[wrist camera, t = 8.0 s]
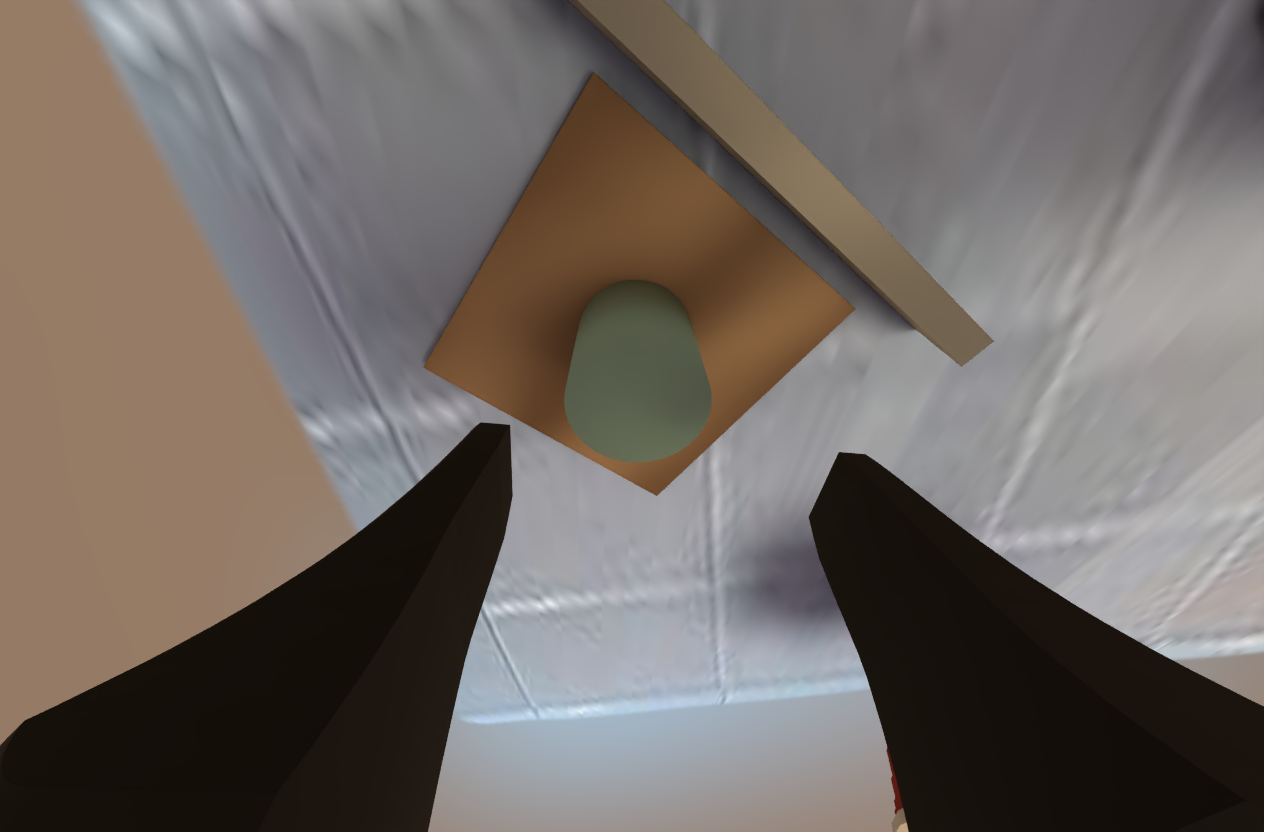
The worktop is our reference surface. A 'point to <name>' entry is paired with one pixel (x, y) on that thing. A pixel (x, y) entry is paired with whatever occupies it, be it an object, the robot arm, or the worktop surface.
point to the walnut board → (630, 250)
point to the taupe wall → (782, 165)
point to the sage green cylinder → (636, 374)
